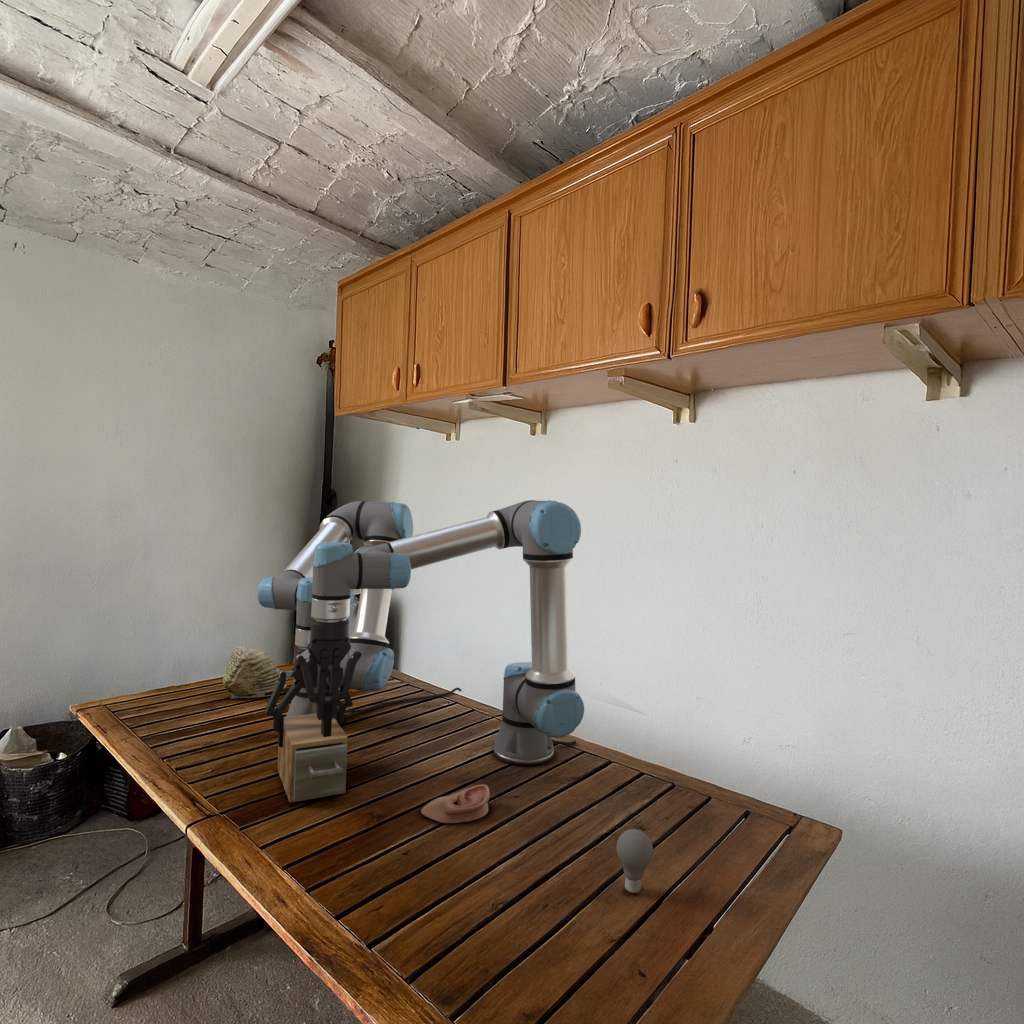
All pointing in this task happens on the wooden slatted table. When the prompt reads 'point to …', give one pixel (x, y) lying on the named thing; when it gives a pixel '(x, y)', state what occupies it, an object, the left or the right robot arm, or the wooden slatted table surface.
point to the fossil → (250, 674)
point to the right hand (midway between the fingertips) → (326, 734)
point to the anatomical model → (459, 806)
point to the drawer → (320, 771)
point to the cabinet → (303, 744)
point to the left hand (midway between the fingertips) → (308, 741)
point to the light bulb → (634, 857)
